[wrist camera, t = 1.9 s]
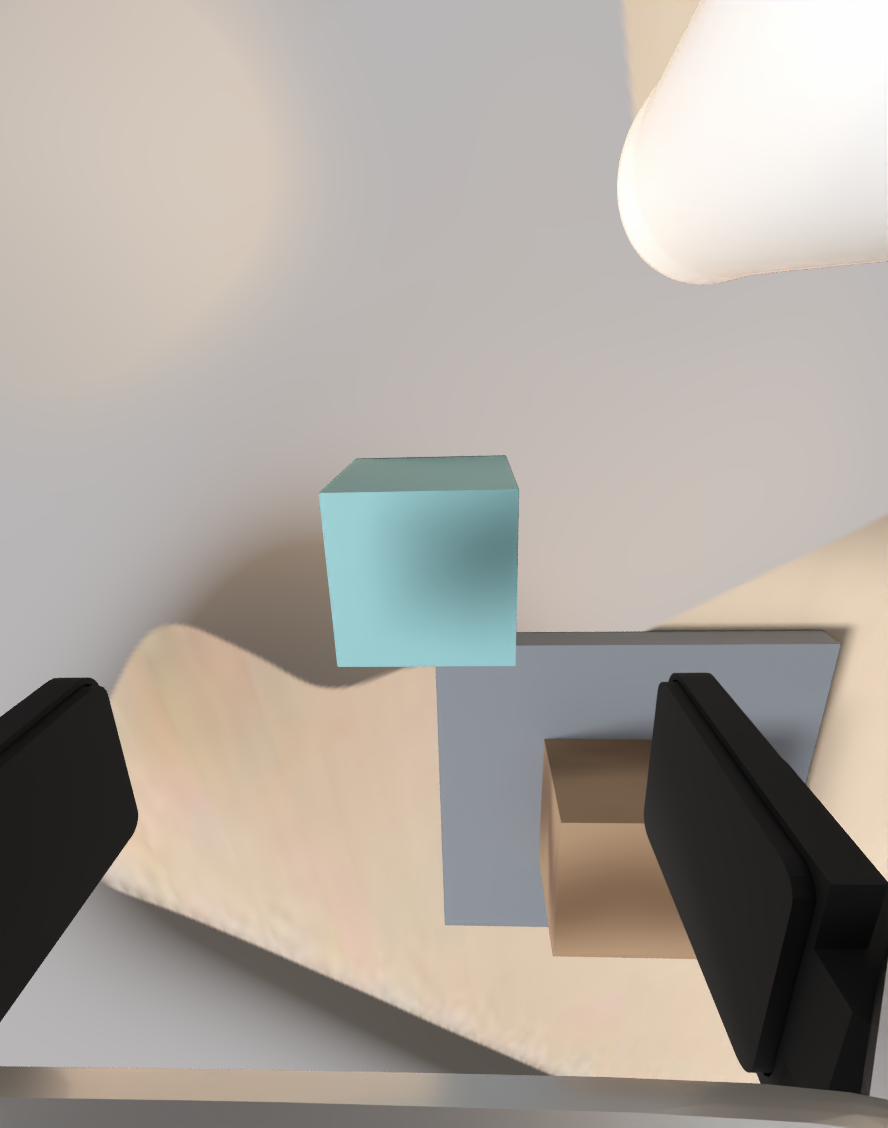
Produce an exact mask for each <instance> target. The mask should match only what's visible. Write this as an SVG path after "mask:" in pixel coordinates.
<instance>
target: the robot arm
mask: <svg viewBox="0 0 888 1128" xmlns="http://www.w3.org/2000/svg"><path fill="white" fill-rule="evenodd" d="M137 821H138V810H137V806H136V802H135V798H134V794H133V790H132V786H131V783H130V779H129V775H128V771H127V767H126V763H125V759H124V755H123V751H122V748H121V744H120V740H119V736H118V732H117V728H116V724H115V720H114V716H113V712H112V709H111V705H110V701H109V697H108V694H107V691H106V690H105V689H104V688H103V687H101V686H99V685H98V683H97V682H96V681H95V680H94V679H92V678H54V679H52V680H50V681H48V682H46V683H45V684H44V685H42V686H41V687H40V688H38V689H37V690H36V691H34V692H33V693H32V694H30V695H29V696H28V697H26V698H25V699H24V700H22V701H21V702H20V703H18V704H17V705H16V706H14V707H13V708H12V709H10V710H9V711H8V712H6V713H5V714H4V715H2V716H1V717H0V1022H1V1020H2V1019H3V1017H4V1016H5V1014H6V1013H7V1012H8V1010H9V1009H10V1007H11V1006H12V1005H13V1003H14V1002H15V1000H16V999H17V998H18V996H19V995H20V993H21V992H22V990H23V989H24V988H25V986H26V985H27V983H28V982H29V981H30V979H31V978H32V976H33V975H34V974H35V972H36V971H37V969H38V968H39V967H40V965H41V964H42V962H43V961H44V959H45V958H46V957H47V955H48V954H49V952H50V951H51V949H52V948H53V947H54V945H55V944H56V942H57V941H58V940H59V938H60V937H61V935H62V934H63V933H64V931H65V930H66V928H67V927H68V926H69V924H70V923H71V921H72V920H73V918H74V917H75V916H76V914H77V913H78V911H79V910H80V909H81V907H82V906H83V904H84V903H85V902H86V900H87V899H88V897H89V896H90V894H91V893H92V892H93V890H94V889H95V887H96V886H97V885H98V883H99V882H100V880H101V879H102V877H103V876H104V875H105V873H106V872H107V870H108V869H109V868H110V866H111V865H112V863H113V862H114V861H115V859H116V858H117V856H118V855H119V853H120V852H121V851H122V849H123V848H124V846H125V845H126V844H127V842H128V841H129V839H130V838H131V837H132V835H133V833H134V831H135V829H136V826H137ZM644 825H645V830H646V833H647V836H648V839H649V842H650V844H651V846H652V849H653V851H654V854H655V856H656V859H657V861H658V864H659V866H660V869H661V871H662V874H663V876H664V879H665V881H666V884H667V886H668V888H669V891H670V893H671V896H672V898H673V901H674V903H675V906H676V908H677V911H678V913H679V916H680V918H681V921H682V923H683V926H684V928H685V930H686V933H687V935H688V938H689V940H690V943H691V945H692V948H693V950H694V953H695V955H696V958H697V960H698V963H699V965H700V968H701V970H702V972H703V975H704V977H705V980H706V982H707V985H708V987H709V990H710V992H711V995H712V997H713V1000H714V1002H715V1005H716V1007H717V1010H718V1012H719V1015H720V1017H721V1019H722V1022H723V1024H724V1027H725V1029H726V1032H727V1034H728V1037H729V1039H730V1042H731V1044H732V1047H733V1049H734V1052H735V1054H736V1056H737V1058H738V1060H739V1063H740V1064H741V1066H742V1067H743V1069H744V1070H745V1071H746V1072H753V1073H757V1076H758V1078H759V1080H760V1083H761V1084H753V1083H729V1082H706V1081H683V1080H659V1079H636V1078H612V1077H576V1076H531V1075H529V1076H528V1075H486V1074H485V1075H484V1074H442V1073H397V1072H396V1073H395V1072H348V1071H347V1072H346V1071H289V1070H287V1071H286V1070H230V1069H227V1070H226V1069H165V1068H99V1067H97V1068H96V1067H94V1068H93V1067H5V1066H4V1067H1V1066H0V1128H888V882H887V881H886V879H885V878H884V877H883V876H882V875H881V873H880V872H879V871H878V870H877V869H876V867H875V866H874V865H873V864H872V863H871V862H870V860H869V859H868V858H867V857H866V856H865V854H864V853H863V852H862V851H861V850H860V848H859V847H858V846H857V845H856V844H855V842H854V841H853V840H852V839H851V838H850V837H849V835H848V834H847V833H846V832H845V831H844V829H843V828H842V827H841V826H840V825H839V823H838V822H837V821H836V820H835V819H834V817H833V816H832V815H831V814H830V813H829V812H828V810H827V809H826V808H825V807H824V806H823V804H822V803H821V802H820V801H819V800H818V798H817V797H816V796H815V795H814V794H813V792H812V791H811V790H810V789H809V788H808V787H807V785H806V784H805V783H804V782H803V781H802V779H801V778H800V777H799V776H798V775H797V773H796V772H795V771H794V770H793V769H792V767H791V766H790V765H789V764H788V763H787V762H786V761H785V760H784V759H782V757H781V756H780V755H779V754H778V753H777V751H776V750H775V749H774V748H773V747H772V745H771V744H770V743H769V742H768V741H767V739H766V738H765V737H764V736H763V735H762V733H761V732H760V731H759V730H758V729H757V727H756V726H755V725H754V724H753V723H752V721H751V720H750V719H749V718H748V717H747V715H746V714H745V713H744V712H743V711H742V710H741V708H740V707H739V706H738V705H737V704H736V702H735V701H734V700H733V699H732V698H731V696H730V695H729V694H728V693H727V692H726V690H725V689H724V688H723V687H722V686H721V684H720V683H719V682H718V681H717V680H716V678H715V677H714V676H713V675H712V674H710V673H673V674H672V675H671V676H670V678H669V682H661V683H660V684H659V686H658V692H657V700H656V709H655V717H654V726H653V735H652V743H651V752H650V761H649V769H648V778H647V787H646V795H645V804H644Z"/></svg>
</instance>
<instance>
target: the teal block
mask: <svg viewBox="0 0 888 1128" xmlns="http://www.w3.org/2000/svg"><path fill="white" fill-rule="evenodd" d="M319 500H320V510H321V519H322V528H323V537H324V546H325V556H326V565H327V574H328V583H329V592H330V601H331V610H332V620H333V629H334V638H335V647H336V656H337V665H338V667H367V666H369V667H371V666H372V667H374V666H377V667H381V666H385V667H386V666H387V667H388V666H515V665H516V616H517V615H516V613H517V611H516V610H517V566H518V517H519V512H518V511H519V488H518V485H517V483H516V480H515V478H514V475H513V473H512V470H511V467H510V465H509V463H508V460H507V457H506V456H505V455H501V456H500V455H498V456H451V457H407V458H404V457H403V458H356V459H355V460H354V461H353V462H352V463H351V464H350V465H349V466H347V467H346V468H345V469H344V470H343V471H342V472H341V473H340V474H339V475H338V476H337V477H336V478H334V479H333V480H332V481H331V482H330V483H329V484H328V485H327V486H326V487H325V488H324V489H323V490H322V491H320V492H319Z"/></svg>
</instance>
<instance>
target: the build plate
mask: <svg viewBox="0 0 888 1128" xmlns="http://www.w3.org/2000/svg"><path fill="white" fill-rule="evenodd" d="M840 646H841V644H840V643H839V642H838V641H836V640H835V639H834V638H832V637H831V636H830V635H829V634H827V633H826V632H825V631H670V632H516V665H515V666H436V689H437V717H438V745H439V773H440V801H441V829H442V857H443V885H444V913H445V925H469V926H527V927H549V926H548V919H547V912H546V905H545V898H544V891H543V885H542V878H541V871H540V864H539V841H540V819H541V797H542V775H543V753H544V739H638V740H652V735H653V726H654V717H655V709H656V700H657V692H658V686H659V684H660V683H661V682H669V678H670V676H671V675H672V674H673V673H710V674H712V675H713V676H714V677H715V678H716V680H717V681H718V682H719V683H720V684H721V686H722V687H723V688H724V689H725V690H726V692H727V693H728V694H729V695H730V696H731V698H732V699H733V700H734V701H735V702H736V704H737V705H738V706H739V707H740V708H741V710H742V711H743V712H744V713H745V714H746V715H747V717H748V718H749V719H750V720H751V721H752V723H753V724H754V725H755V726H756V727H757V729H758V730H759V731H760V732H761V733H762V735H763V736H764V737H765V738H766V739H767V741H768V742H769V743H770V744H771V745H772V747H773V748H774V749H775V750H776V751H777V753H778V754H779V755H780V756H781V757H782V759H784V760H785V761H786V762H787V763H788V764H789V765H790V766H791V767H792V769H793V770H794V771H795V772H796V773H797V775H798V776H799V777H800V778H801V779H802V781H803V782H804V783H805V784H806V780H807V776H808V772H809V768H810V764H811V760H812V756H813V752H814V748H815V744H816V740H817V737H818V733H819V729H820V725H821V721H822V717H823V713H824V709H825V705H826V701H827V697H828V693H829V689H830V685H831V681H832V678H833V674H834V670H835V666H836V662H837V658H838V654H839V650H840Z"/></svg>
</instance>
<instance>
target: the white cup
mask: <svg viewBox="0 0 888 1128" xmlns="http://www.w3.org/2000/svg"><path fill="white" fill-rule="evenodd" d="M617 181H618V182H617V196H618V206H619V212H620V216H621V220H622V224H623V226H624V229H625V232H626V234H627V236H628V239H629V240H630V242H631V244H632V245H633V247H634V249H635V250H636V251H637V253H638V254H639V255H640V256H641V258H642V259H643V260H644V261H645V262H646V263H648V264H649V265H650V266H651V267H652V268H653V269H655V270H656V271H658V272H659V273H661V274H663V275H665V276H667V277H669V278H671V279H674V280H677V281H681V282H684V283H691V284H715V283H721V282H726V281H730V280H734V279H737V278H741V277H744V276H749V275H757V274H766V273H775V272H784V271H794V270H804V269H813V268H824V267H835V266H845V265H855V264H866V263H876V262H888V0H700V2H699V4H698V6H697V8H696V10H695V12H694V14H693V16H692V18H691V20H690V22H689V23H688V25H687V27H686V29H685V31H684V33H683V35H682V37H681V39H680V41H679V43H678V45H677V47H676V49H675V51H674V53H673V55H672V57H671V59H670V61H669V63H668V64H667V66H666V68H665V70H664V72H663V74H662V76H661V78H660V80H659V82H658V83H657V84H656V86H655V87H654V89H653V90H652V92H651V93H650V94H649V96H648V97H647V99H646V100H645V102H644V103H643V105H642V107H641V108H640V110H639V112H638V114H637V115H636V117H635V119H634V121H633V123H632V125H631V128H630V130H629V132H628V135H627V138H626V140H625V143H624V147H623V150H622V154H621V159H620V163H619V170H618V180H617Z"/></svg>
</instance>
